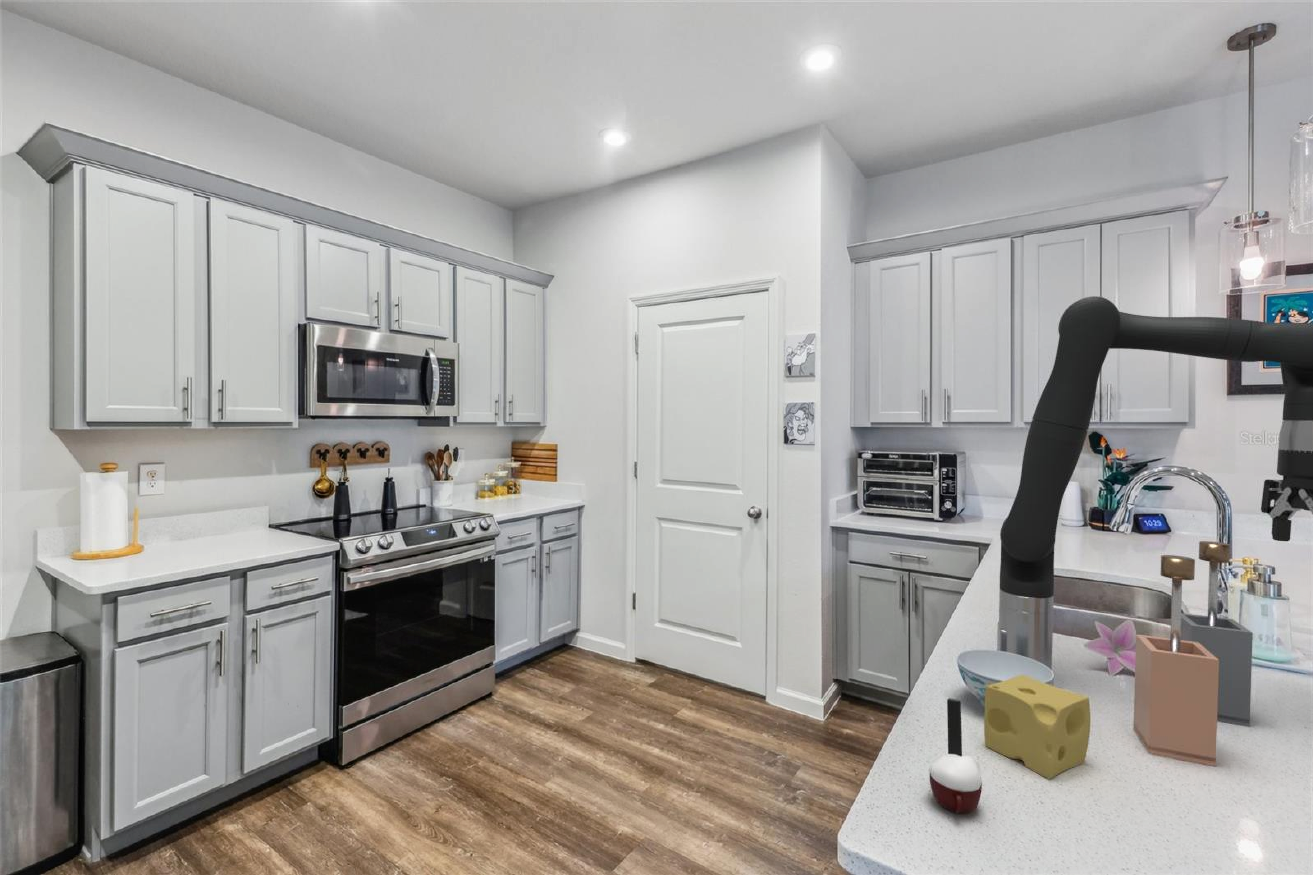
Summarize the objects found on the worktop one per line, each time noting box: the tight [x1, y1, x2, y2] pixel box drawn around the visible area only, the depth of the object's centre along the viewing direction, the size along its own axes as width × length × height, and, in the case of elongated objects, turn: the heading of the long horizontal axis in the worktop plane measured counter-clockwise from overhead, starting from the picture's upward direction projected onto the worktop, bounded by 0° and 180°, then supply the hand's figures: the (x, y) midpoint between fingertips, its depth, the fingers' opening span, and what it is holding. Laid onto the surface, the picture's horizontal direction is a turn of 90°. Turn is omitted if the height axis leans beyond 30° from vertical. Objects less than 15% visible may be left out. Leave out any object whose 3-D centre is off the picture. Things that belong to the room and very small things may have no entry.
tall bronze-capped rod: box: [1198, 540, 1231, 627], centre depth 106 cm, size 5×5×16 cm
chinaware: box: [956, 648, 1055, 709], centre depth 107 cm, size 15×15×8 cm
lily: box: [1083, 619, 1137, 676], centre depth 125 cm, size 12×12×10 cm
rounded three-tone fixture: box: [928, 697, 983, 814], centre depth 80 cm, size 10×6×12 cm, turn 136°
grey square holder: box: [1180, 612, 1253, 728], centre depth 106 cm, size 8×8×16 cm
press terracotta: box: [1133, 633, 1219, 767], centre depth 94 cm, size 8×8×16 cm
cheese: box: [983, 675, 1091, 780], centre depth 92 cm, size 10×11×10 cm
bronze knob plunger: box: [1160, 554, 1196, 653], centre depth 94 cm, size 5×5×16 cm
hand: (1304, 546), depth 99 cm, fingers open, 8 cm apart
